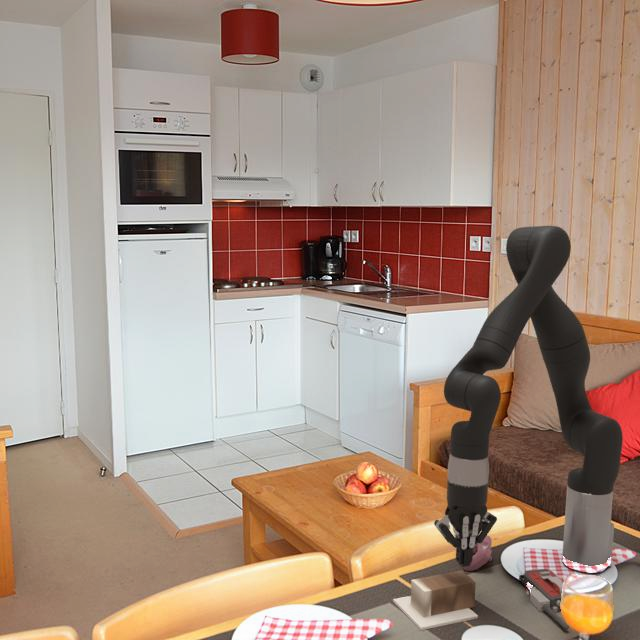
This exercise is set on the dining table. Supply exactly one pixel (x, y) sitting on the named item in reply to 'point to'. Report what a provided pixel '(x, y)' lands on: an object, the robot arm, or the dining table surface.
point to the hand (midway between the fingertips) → (463, 564)
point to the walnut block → (442, 593)
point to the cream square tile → (434, 620)
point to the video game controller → (480, 554)
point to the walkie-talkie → (545, 592)
